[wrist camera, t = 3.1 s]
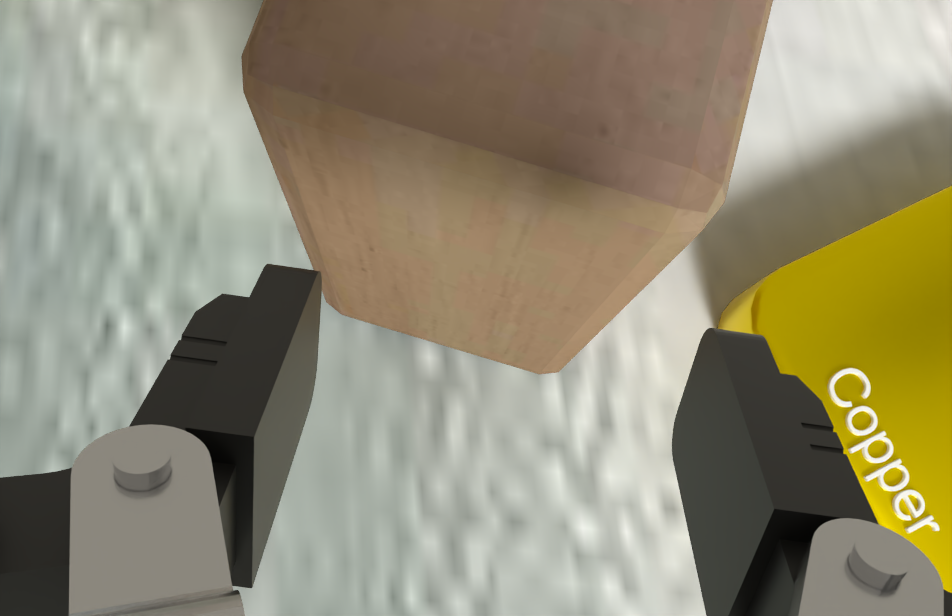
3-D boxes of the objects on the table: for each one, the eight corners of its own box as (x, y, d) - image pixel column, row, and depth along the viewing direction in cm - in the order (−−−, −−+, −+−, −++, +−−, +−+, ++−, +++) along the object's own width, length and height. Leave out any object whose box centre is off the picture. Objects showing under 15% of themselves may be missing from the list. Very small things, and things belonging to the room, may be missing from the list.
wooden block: (395, 93, 39) (378, -338, 19) (620, 161, 39) (832, -200, 19) (319, 312, 36) (213, 76, 17) (559, 385, 36) (731, 232, 17)
